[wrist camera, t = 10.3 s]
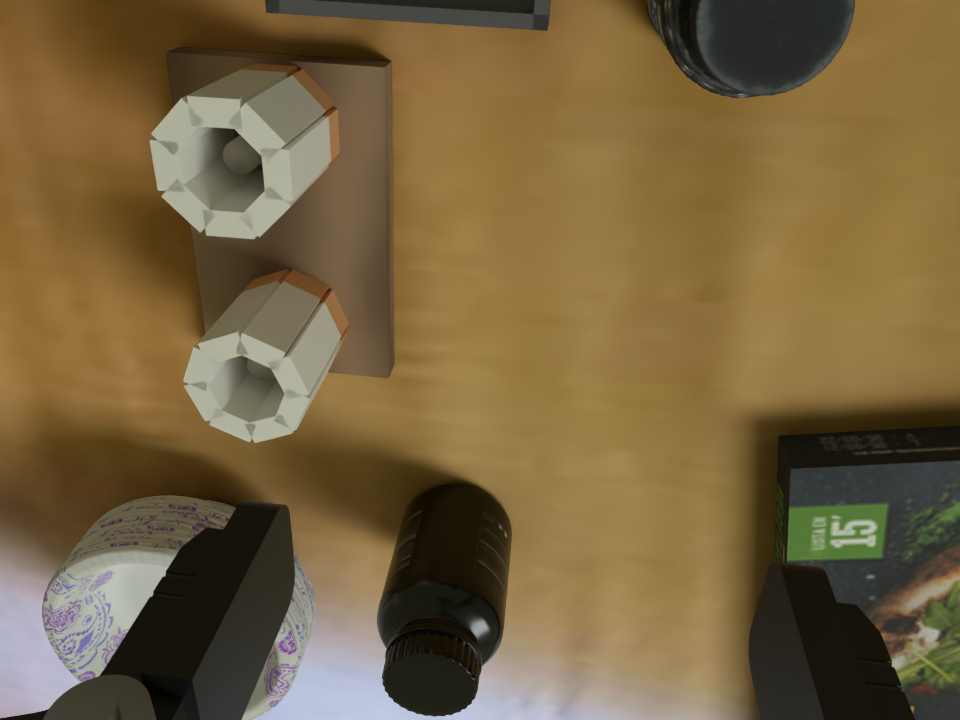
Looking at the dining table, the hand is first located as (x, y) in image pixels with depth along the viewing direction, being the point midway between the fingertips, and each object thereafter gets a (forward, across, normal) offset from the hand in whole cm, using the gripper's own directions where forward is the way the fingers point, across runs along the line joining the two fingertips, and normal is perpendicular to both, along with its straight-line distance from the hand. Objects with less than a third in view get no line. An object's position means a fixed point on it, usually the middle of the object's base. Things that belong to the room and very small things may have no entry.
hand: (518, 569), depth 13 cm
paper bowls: (+28, +20, +29) cm, 45 cm away
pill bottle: (+28, -6, -7) cm, 30 cm away
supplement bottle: (+28, +4, +24) cm, 37 cm away
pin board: (+28, +13, +5) cm, 31 cm away
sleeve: (+26, +13, 0) cm, 29 cm away
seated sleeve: (+26, +13, +10) cm, 31 cm away
